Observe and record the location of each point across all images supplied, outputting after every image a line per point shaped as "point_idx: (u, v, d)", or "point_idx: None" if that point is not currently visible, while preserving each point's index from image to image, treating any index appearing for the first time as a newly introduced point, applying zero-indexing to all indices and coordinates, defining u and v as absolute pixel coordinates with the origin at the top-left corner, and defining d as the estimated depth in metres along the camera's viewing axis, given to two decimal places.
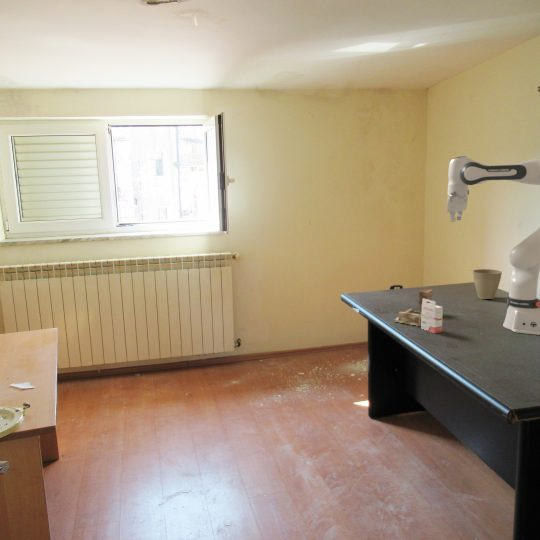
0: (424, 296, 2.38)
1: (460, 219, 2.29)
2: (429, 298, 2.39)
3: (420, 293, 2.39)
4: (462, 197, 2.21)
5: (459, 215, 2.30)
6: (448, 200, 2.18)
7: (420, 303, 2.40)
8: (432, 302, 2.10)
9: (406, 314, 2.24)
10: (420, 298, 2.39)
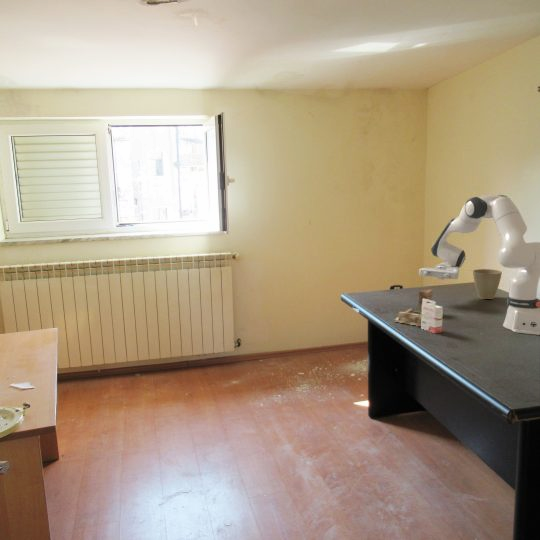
0: (424, 296, 2.38)
1: (442, 274, 2.47)
2: (429, 298, 2.39)
3: (420, 293, 2.39)
4: (438, 266, 2.58)
5: None
6: None
7: (420, 303, 2.40)
8: (432, 302, 2.10)
9: (406, 314, 2.24)
10: (420, 298, 2.39)
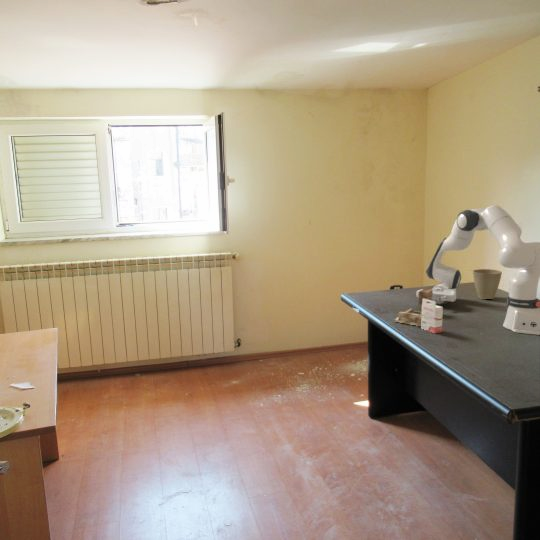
0: (424, 296, 2.38)
1: (439, 297, 2.46)
2: (429, 298, 2.39)
3: (420, 293, 2.39)
4: (436, 288, 2.57)
5: None
6: None
7: (420, 303, 2.40)
8: (432, 302, 2.10)
9: (406, 314, 2.24)
10: (420, 298, 2.39)
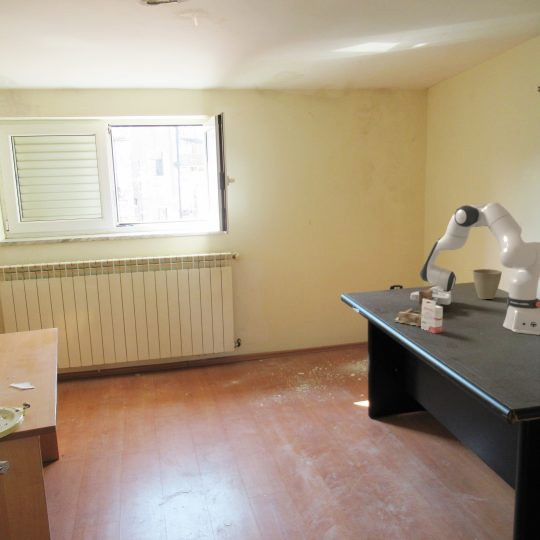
0: (424, 296, 2.38)
1: None
2: (429, 298, 2.39)
3: (420, 293, 2.39)
4: None
5: None
6: None
7: (420, 303, 2.40)
8: (432, 302, 2.10)
9: (406, 314, 2.24)
10: (420, 298, 2.39)
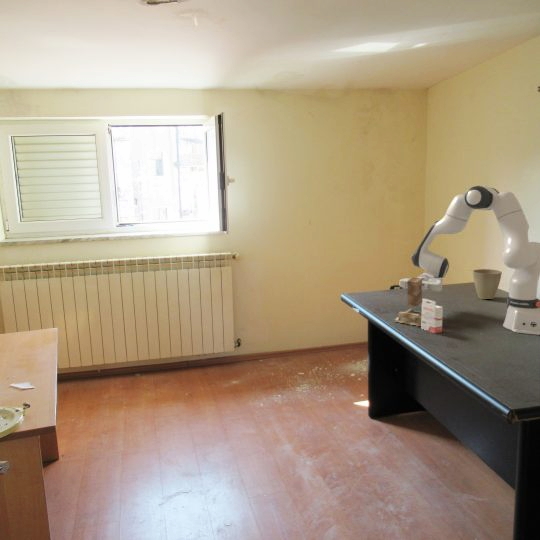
0: (413, 286, 2.24)
1: (420, 286, 2.26)
2: (418, 287, 2.25)
3: (408, 283, 2.25)
4: (420, 277, 2.36)
5: None
6: None
7: (409, 293, 2.26)
8: (432, 302, 2.10)
9: (406, 314, 2.24)
10: (409, 288, 2.25)
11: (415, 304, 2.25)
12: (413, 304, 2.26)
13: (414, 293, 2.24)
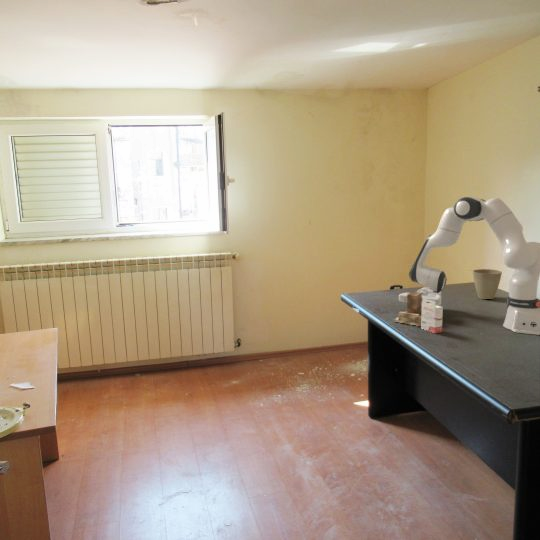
0: (412, 299, 2.26)
1: (419, 301, 2.28)
2: (418, 301, 2.27)
3: (408, 296, 2.27)
4: (420, 292, 2.38)
5: None
6: None
7: (408, 307, 2.28)
8: (432, 302, 2.10)
9: (406, 314, 2.24)
10: (408, 302, 2.27)
11: None
12: None
13: (414, 306, 2.26)
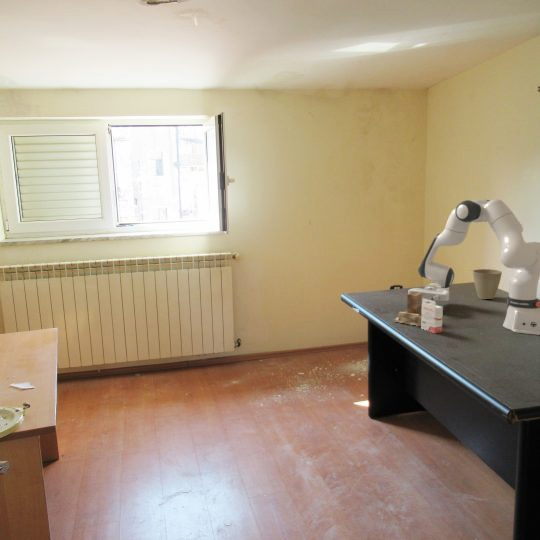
0: (413, 299, 2.26)
1: (431, 296, 2.36)
2: (418, 301, 2.27)
3: (408, 296, 2.27)
4: (428, 287, 2.48)
5: None
6: None
7: (408, 307, 2.28)
8: (432, 302, 2.10)
9: (406, 314, 2.24)
10: (408, 301, 2.27)
11: None
12: None
13: (414, 306, 2.26)
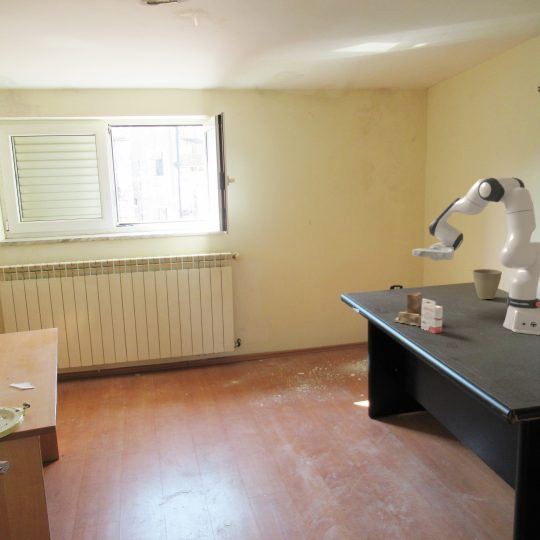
0: (413, 299, 2.26)
1: (436, 254, 2.36)
2: (418, 301, 2.27)
3: (408, 296, 2.27)
4: (433, 247, 2.47)
5: None
6: None
7: (408, 307, 2.28)
8: (432, 302, 2.10)
9: (406, 314, 2.24)
10: (408, 301, 2.27)
11: None
12: None
13: (414, 306, 2.26)
